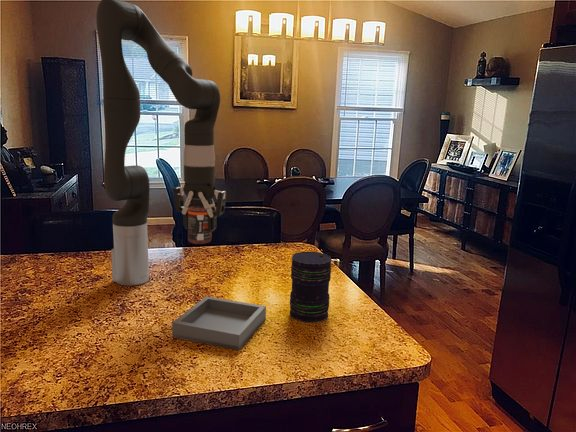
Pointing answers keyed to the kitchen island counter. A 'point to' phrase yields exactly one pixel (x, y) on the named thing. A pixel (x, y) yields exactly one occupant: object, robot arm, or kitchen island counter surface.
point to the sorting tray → (219, 322)
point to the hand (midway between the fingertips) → (199, 229)
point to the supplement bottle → (198, 223)
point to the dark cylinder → (310, 286)
